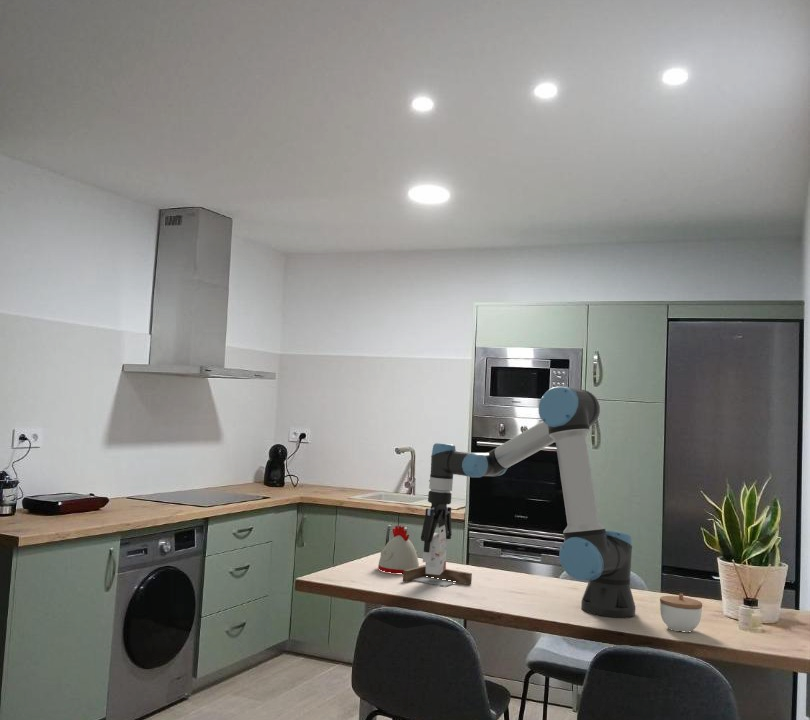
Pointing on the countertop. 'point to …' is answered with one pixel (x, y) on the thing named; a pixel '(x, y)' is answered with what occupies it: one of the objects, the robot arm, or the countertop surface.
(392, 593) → the countertop surface
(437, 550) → the ink cartridge box
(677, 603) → the lidded jar
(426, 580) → the pad
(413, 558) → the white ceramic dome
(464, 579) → the corner walls
